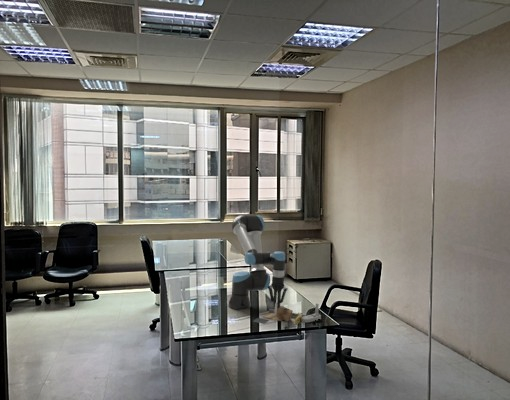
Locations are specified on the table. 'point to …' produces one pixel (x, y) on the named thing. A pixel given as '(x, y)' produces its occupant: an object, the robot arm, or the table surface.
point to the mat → (261, 320)
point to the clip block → (284, 313)
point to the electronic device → (311, 316)
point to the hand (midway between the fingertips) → (276, 313)
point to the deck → (272, 316)
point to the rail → (294, 315)
